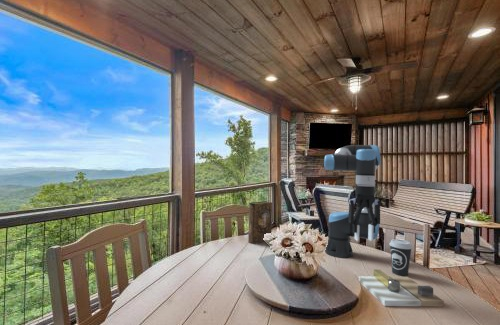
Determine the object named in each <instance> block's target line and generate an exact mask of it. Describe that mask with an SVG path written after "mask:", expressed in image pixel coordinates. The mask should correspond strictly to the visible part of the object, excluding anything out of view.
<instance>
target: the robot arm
mask: <svg viewBox="0 0 500 325" xmlns="http://www.w3.org/2000/svg"><path fill="white" fill-rule="evenodd" d="M380 151H381V150H380V148H379V145H375V144H357V145H356V144H350V145H345V146H343V147H340V148H338V149H336V151H335V152H334V154H326V155H325V156H324V160H323V166H324V169H325V170H326V171H350V172H351V171H352V172H355V185H356V186H355V193H354V194H355V196H354V198H351V199H348V200H347V201H348V202H347V203H348V211H337V212H336V211H335V212H331V213H330V214H329V216H328V232H327V233H328V238H327V241H328V245H327V247H326V250H325V249H324V252H325V253H326V254H327V255H329V256H331V257H337V258H351V257H352V256H353V253H354V252H353V247H352V243H351V239H350V238H351V237H353V238H354V241H355V240H356V241H357V242H360V239H366V240H368V241H370V242H374V240H377V238H378V236H379V231H380V230H379V229H380V224H381V205H382V201H381V200H379V199H376V198H375V197H376V196H375V194H376V192H375V191H376V188H375V186H376V170H377V169H378V168H379V166H380V165H381V163H382V161H381V160H382V159H381V158H382V157H381V152H380ZM355 204H356V209H355Z"/></svg>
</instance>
